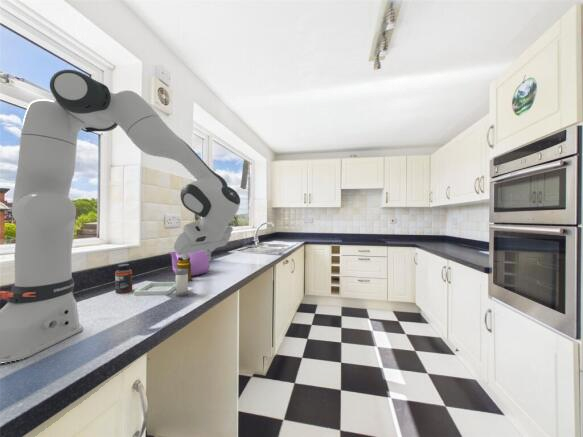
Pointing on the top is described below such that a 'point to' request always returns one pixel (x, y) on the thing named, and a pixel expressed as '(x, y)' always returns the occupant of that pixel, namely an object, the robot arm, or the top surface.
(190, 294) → the holder
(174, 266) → the teapot
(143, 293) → the parts tray
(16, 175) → the robot arm
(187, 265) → the condiment
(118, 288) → the supplement bottle
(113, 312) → the top surface
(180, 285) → the salt shaker
